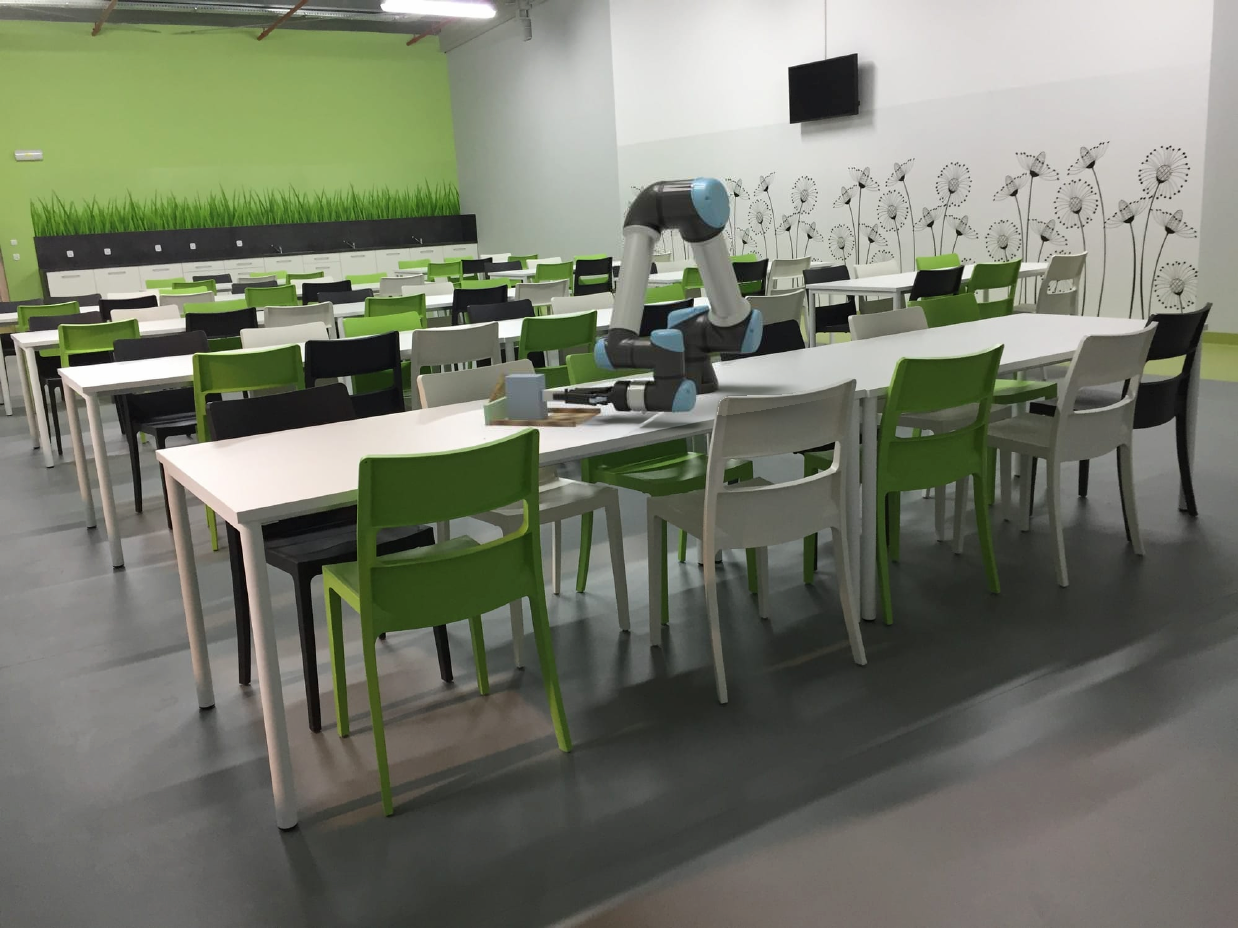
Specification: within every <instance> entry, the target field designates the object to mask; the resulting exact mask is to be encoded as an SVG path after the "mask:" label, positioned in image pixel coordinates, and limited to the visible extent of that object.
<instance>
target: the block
mask: <svg viewBox="0 0 1238 928" xmlns="http://www.w3.org/2000/svg"><path fill="white" fill-rule="evenodd" d="M504 379H505V390H506V400H507V411H508V420H533V421H541V420H543V419H545V418H547V417H548V416H549V413H548V408H549V407H548V401H542V390H547V388H546V386H547V385H546V375H545V373H524V374H523V373H511V374H509V375H508V376H506V377H504Z"/></svg>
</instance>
